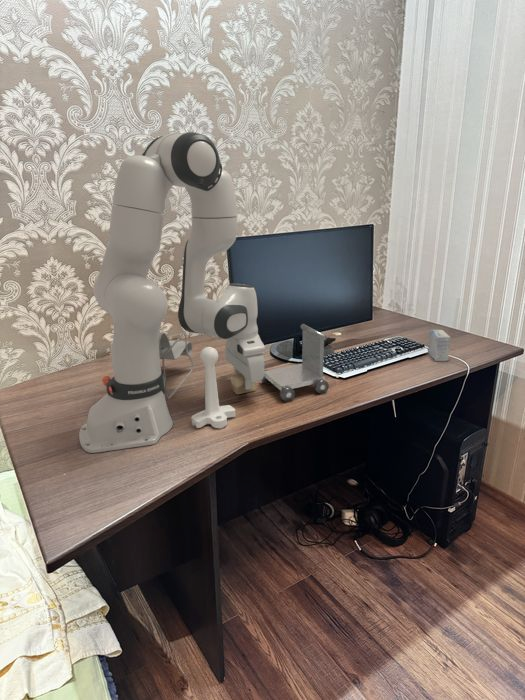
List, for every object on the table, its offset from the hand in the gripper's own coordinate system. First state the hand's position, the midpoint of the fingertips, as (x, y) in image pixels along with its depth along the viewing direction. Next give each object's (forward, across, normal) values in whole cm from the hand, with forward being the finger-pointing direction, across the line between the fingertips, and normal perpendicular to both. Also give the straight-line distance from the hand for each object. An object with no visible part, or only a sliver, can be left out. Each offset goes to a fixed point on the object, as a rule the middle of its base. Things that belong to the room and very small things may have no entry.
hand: (243, 384), depth 135 cm
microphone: (+2, -20, +39) cm, 44 cm away
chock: (+2, 0, 0) cm, 2 cm away
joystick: (+2, +14, -14) cm, 20 cm away
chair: (+2, -17, -20) cm, 27 cm away
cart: (+2, +5, +14) cm, 15 cm away
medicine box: (+2, +6, +69) cm, 70 cm away
